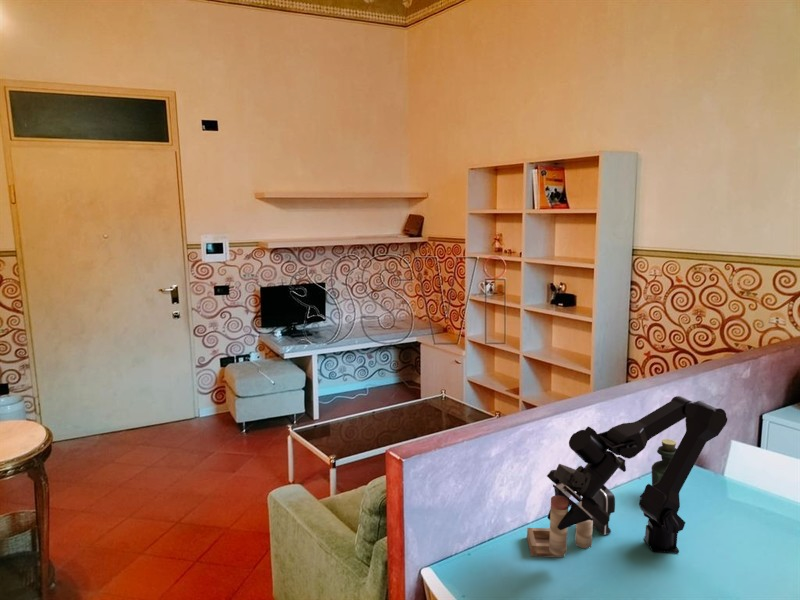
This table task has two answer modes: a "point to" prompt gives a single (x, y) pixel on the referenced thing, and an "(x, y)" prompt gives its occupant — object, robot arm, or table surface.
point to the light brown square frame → (539, 542)
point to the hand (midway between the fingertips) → (553, 523)
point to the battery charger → (608, 504)
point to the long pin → (556, 515)
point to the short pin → (584, 534)
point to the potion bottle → (663, 459)
